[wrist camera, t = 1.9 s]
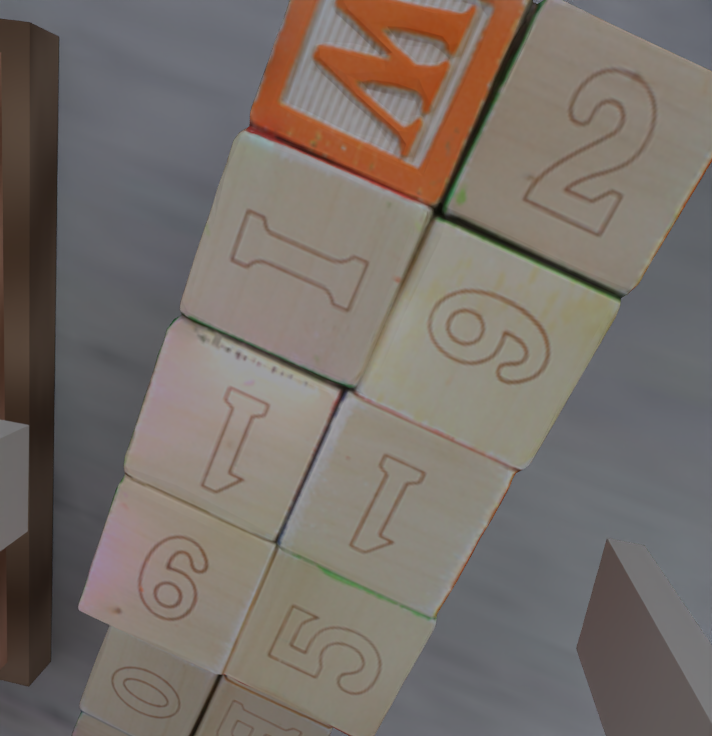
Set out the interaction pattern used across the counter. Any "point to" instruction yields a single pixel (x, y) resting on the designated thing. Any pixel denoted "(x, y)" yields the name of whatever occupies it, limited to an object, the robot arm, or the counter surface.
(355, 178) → the stack of blocks
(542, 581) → the counter surface
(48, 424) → the base brick
